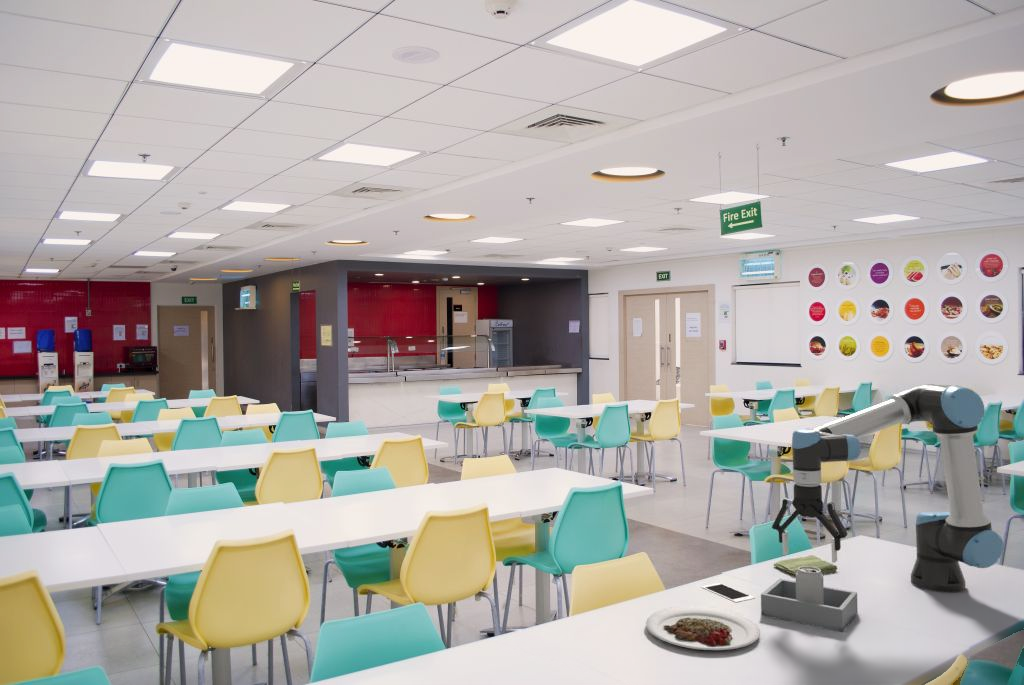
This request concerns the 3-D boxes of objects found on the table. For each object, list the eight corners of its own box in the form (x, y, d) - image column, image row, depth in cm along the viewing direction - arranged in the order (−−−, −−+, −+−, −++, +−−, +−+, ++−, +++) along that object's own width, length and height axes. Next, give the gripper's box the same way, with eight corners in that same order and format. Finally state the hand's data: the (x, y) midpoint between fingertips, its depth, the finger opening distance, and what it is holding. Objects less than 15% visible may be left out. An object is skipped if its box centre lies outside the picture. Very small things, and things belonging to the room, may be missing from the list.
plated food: (684, 605, 224) (684, 593, 224) (780, 631, 203) (780, 619, 203) (624, 633, 203) (624, 621, 203) (723, 667, 182) (723, 653, 182)
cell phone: (735, 603, 225) (735, 601, 225) (700, 588, 240) (700, 586, 240) (755, 599, 228) (755, 597, 228) (719, 584, 243) (719, 582, 243)
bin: (857, 613, 215) (857, 592, 215) (842, 632, 201) (842, 610, 201) (780, 598, 228) (779, 578, 228) (761, 615, 215) (760, 594, 215)
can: (826, 616, 210) (825, 573, 210) (798, 614, 212) (797, 572, 212) (821, 606, 218) (820, 565, 218) (793, 605, 219) (793, 564, 219)
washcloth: (771, 568, 259) (771, 558, 259) (813, 562, 265) (813, 553, 265) (796, 579, 247) (796, 569, 247) (840, 573, 252) (840, 564, 252)
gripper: (759, 482, 219) (761, 554, 219) (850, 490, 204) (853, 568, 204) (768, 477, 225) (770, 548, 225) (857, 485, 210) (859, 561, 210)
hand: (809, 557), depth 215 cm, fingers open, 13 cm apart
